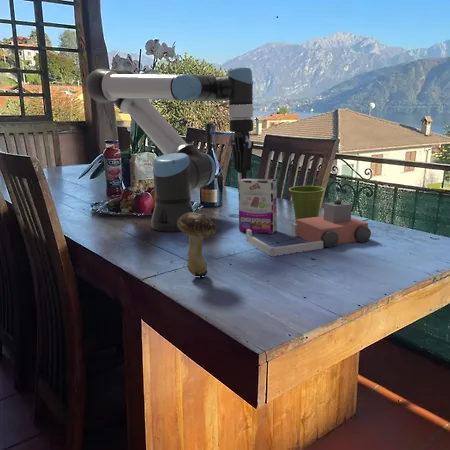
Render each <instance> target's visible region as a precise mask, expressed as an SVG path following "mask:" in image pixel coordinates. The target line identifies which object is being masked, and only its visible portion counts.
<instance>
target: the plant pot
mask: <svg viewBox="0 0 450 450" xmlns="http://www.w3.org/2000/svg"><path fill="white" fill-rule="evenodd" d="M325 190H326V188H325V187H322V186H320V185H319V186H317V185H298V186H291V187H289V188H288V191H289V192H290V197H291V200H292V205H293V213H294V219H295V220H294V221H296V219H303V218H311V217H319V213H320V207H321V201H322V197H323V194H324V191H325Z"/></svg>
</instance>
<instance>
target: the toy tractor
mask: <svg viewBox="0 0 450 450" xmlns="http://www.w3.org/2000/svg"><path fill="white" fill-rule="evenodd" d="M352 206H353V205H352V203H349V202H345V201H342V199H334V201H331V202H324V203H323V215H321V216H319V215H318V217H311V218H303V219H296V220H295V221H294V223H291V236H294V237H297V238H300V239H302V240H304V241H306V242H304V243H303V242H302V243H297V244H295V243H294V244H288V245H282V246H281V245H280V246H276V247H272V246H270V245H269V244H267V243H265V242H263V241H262V240H260V239H258V238H257V237H255V236H253V233H252V230H250V229H246V232H245V233H246V234H245V235H246V236H245V237H246V239H245V240H246V242H247V243H248V242H249V244H250V243H251V244H252V246H253V245H254V246H253V247H255V248H256V247H257V248H256V249H258V248H259V249H260V251H261V250H262V251H261V252H262V253H264V252H265V254H266V255H268V256H269V255H270V256H269V257H271V256H272V257H277V255H278V256H283V254H285V255H289V254H290V253H291V254H297V253H296V252H298V253H303V251H304V252H309V251H316V250H322V249H324V247H327V248H334V247H336V246H337V245H342V244H348V243H355V242H360V243H367V242H368V241H369V240H371V239H370V238H371V237H372V232H371V229H370V228H369V222H367V221H363V220H360V219H357V218H355V217H352ZM251 244H250V245H251ZM259 249H258V250H259Z"/></svg>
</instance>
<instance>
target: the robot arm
mask: <svg viewBox="0 0 450 450" xmlns="http://www.w3.org/2000/svg"><path fill="white" fill-rule="evenodd" d="M252 71H253V70H251V68H249V67H231V68H229V69H228V71H227V75H221V76H220V75H219V76H217V75H216V76H211V75H199V74H191V73H183V74H182V73H181V74H169V73H168V74H152V73H151V74H148V73H143V74H138V73H136V72H134V71H131V70H127V69H112V68H111V69H110V68H109V69H108V68H97V69H95V70H93V71H91V73H89V75H88V76H87V79H86V81H85V86H86V87H85V88H86V91H87V93H88V95H89V96H90V98H91V99H93V101H95V102H97V103H100V104H114V105H115V106H116V107H117V108H118V110H120V112H121V113H122V114H124V115H125V114H127V115H129V116H130V117H131V118H132V120H134V122H135V123H136V124H137V125H138V127H140V129H141V130H142V131H143V132H144V133H145V134H146V135H147V136H148V138H149V139H150V140H151V141H152V143H153V144H154V145H155V146H156V147H157V148H158V150H160V151H161V153H162V155H159V156H157V157H156V158H155V159H154V160H153V163H152V173H153V184H154V185H153V187H154V188H153V189H154V199H155V200H154V202H155V203H154V204H155V205H154V209H153V212H152V216H151V220H150V225H151V229H152V230H154V231H159V232H169V233H170V232H174V233H175V232H182V231H181V230H180V229H179V228H178V226H177V221H178V219H179V218H180V217H181V216H182V215H184V214H186V213H190V212H195V210H194V207H193V204H192V193H191V192H192V191H194V190H197V189H202V188H205V187H206V186H208V185H209V184H211V183H212V182H213V181H214V180H215V177H216V174H217V165H216V163H215V160H214V159H213V157H212V156H211V155H209V154H208V153H205V152H201V151H200V150H199V149H198V148H197V146H195V145H194V144H193V143H187V142H186V141H185V139H183V137H182V136H180V134H179V133H178V132H177V131H176V129H174V127H173V126H172V125H171V124H170V123H169V122H168V121H167V119H166V118H165V117H164V116H163V115H162V114H161V112H159V110H157V108H156V107H155V106H154V104H153V103H151V101H150V100H165V101H166V100H168V101H169V100H170V101H184V102H192V101H193V102H194V101H198V102H199V101H200V102H215V101H217V102H218V101H228V111H229V112H228V117H229V119H230V120H229V131H230V132H231V133H234V134H233V139H232V140H230V145H231V149H232V157H233V167H234V170H236V172H237V182H238V181H239V180H241V179H248V172H250V171H251V167H252V166H251V165H252V157H253V148H254V145H255V144H254V141H251V140H250V132H252V131H254V120H253V119H252V118H253V116H254V113H253V112H254V109H255V108H254V107H253V106H254V103H253V100H254V99H253V96H254V95H253V84H254V82H253V81H254V80H253V72H252ZM237 192H238V193H239V190H238V189H237Z"/></svg>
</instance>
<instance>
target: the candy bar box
mask: <svg viewBox="0 0 450 450" xmlns="http://www.w3.org/2000/svg"><path fill="white" fill-rule="evenodd" d="M238 190H239V192H238V228H239V231H238V232H240V233H241V232H242V233H246V229H250V230H252V234H253V233H254V234H266V235H268V234H269V235H273V234H274V233H276V232H277V231H278V230H277V229H278V227H277V226H278V212H277V211H278V209H277V208H278V205H277V204H278V203H277V202H278V201H277V200H278V199H277V198H278V194H277V193H278V192H277V191H278V181H277V179H275V178H274V179H273V178H247V179H241V180H239V181H238V180H237V191H238Z"/></svg>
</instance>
